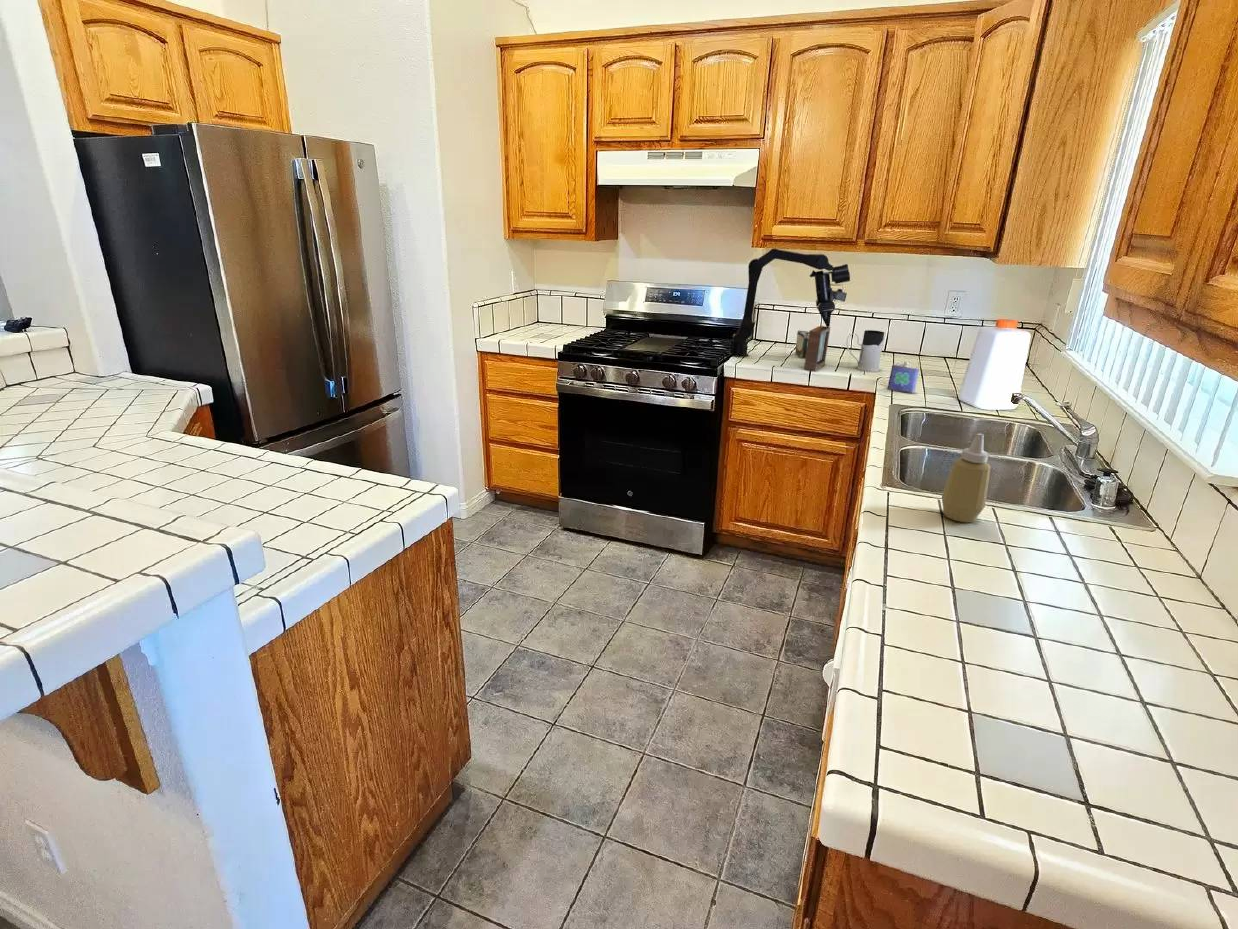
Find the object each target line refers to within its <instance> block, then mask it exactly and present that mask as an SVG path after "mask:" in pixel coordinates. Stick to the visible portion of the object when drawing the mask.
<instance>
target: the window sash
mask: <svg viewBox="0 0 1238 929" xmlns="http://www.w3.org/2000/svg"><path fill="white" fill-rule="evenodd" d="M807 341H808V339H807V338H804V343H803V350H802V357H805V356H806V347H807Z"/></svg>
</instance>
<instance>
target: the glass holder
mask: <svg viewBox="0 0 1238 929" xmlns="http://www.w3.org/2000/svg"><path fill="white" fill-rule="evenodd" d="M852 335H855V336H856V338H857V345H859V346H860V351H859V357H858V358H857V357H855V355H854V354H853V353H852V352H851V351H850V347H849V338H850V337H851V336H852ZM884 337H885V332H884V331H881V330H875V329H874V330H873V329H869V330H867V329H866V330H864V331H863V338H862V341H861V342H862V343H859V342H860V338H859V335H858V334H857V333H850V334H849V335H848V336H847V338H846V348H847V351H848V353H849V354H850V355H851V356H852V358H854V359H855V360H856V361H857V366H856V369H857V370H858V371H863V372H868V373H869V372H871V373H877V372H880V368H879V367H880V361H881V356H882V351H883V345H884V341H885V340H884V339H885V338H884Z"/></svg>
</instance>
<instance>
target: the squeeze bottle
mask: <svg viewBox="0 0 1238 929" xmlns="http://www.w3.org/2000/svg"><path fill="white" fill-rule="evenodd" d="M984 436H985V434H984V433H979V432H978V433H976V434H975V437H974V439H973V440H972V442H971V444H970V446H969V447H965V448H963V449H962V451H961V456H960V457H958V458H956V459H955V460H954V461H953V464H952V467H951V469H950V473H949V475H948V477H947V481H946V483H945V486H944V489H943V491H942V494H941V503H942V509H943V515H944V516H945V517H947V518H948V519H950V520H953V521H955V522H960V523H972V522H975V521H976V520H977V518H978V517H979V516H980V514H981V513H982V511H983V510H984V509H985V508H986V502H987V496H988V489H989V482H990V476H991V465H990V464H989V463H988V459H989V456H990V455H989V452H987V451H986V450H984V442H985V441H984V440H985V438H984Z"/></svg>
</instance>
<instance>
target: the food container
mask: <svg viewBox="0 0 1238 929" xmlns="http://www.w3.org/2000/svg"><path fill="white" fill-rule="evenodd" d="M809 332H810V331H808V330H800V329H799V330H797V333H796V344H795V352H794V354H795V355H796V356H797V357H799V358H800V359H806V356H805V357H802V350H803V343H804V338H807V339H809ZM807 346H808V341H807ZM806 353H807V347H806Z"/></svg>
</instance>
